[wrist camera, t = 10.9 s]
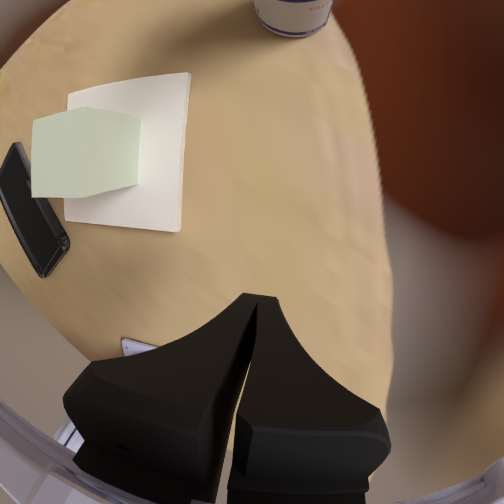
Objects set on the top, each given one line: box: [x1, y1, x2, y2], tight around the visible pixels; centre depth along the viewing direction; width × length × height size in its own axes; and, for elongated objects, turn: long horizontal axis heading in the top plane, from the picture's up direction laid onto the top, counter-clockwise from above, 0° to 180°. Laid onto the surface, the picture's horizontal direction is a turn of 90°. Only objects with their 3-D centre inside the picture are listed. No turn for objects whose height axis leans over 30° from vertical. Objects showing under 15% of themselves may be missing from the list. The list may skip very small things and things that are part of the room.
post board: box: [64, 72, 192, 232], centre depth 17 cm, size 12×12×5 cm
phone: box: [0, 142, 70, 279], centre depth 22 cm, size 8×1×15 cm
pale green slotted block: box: [31, 106, 142, 198], centre depth 15 cm, size 5×5×7 cm
